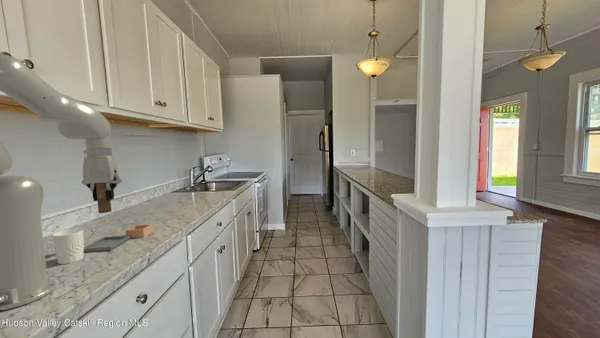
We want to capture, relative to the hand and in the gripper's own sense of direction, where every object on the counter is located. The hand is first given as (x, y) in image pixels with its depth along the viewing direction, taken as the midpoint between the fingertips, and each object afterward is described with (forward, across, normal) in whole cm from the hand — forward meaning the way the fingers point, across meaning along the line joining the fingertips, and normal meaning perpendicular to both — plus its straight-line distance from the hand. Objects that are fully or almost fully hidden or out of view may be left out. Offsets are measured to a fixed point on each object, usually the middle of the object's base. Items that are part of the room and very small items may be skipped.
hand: (103, 199), depth 96 cm
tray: (+19, 0, 0) cm, 19 cm away
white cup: (+19, -5, -11) cm, 22 cm away
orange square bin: (+19, +6, +10) cm, 22 cm away
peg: (+5, 0, 0) cm, 5 cm away
